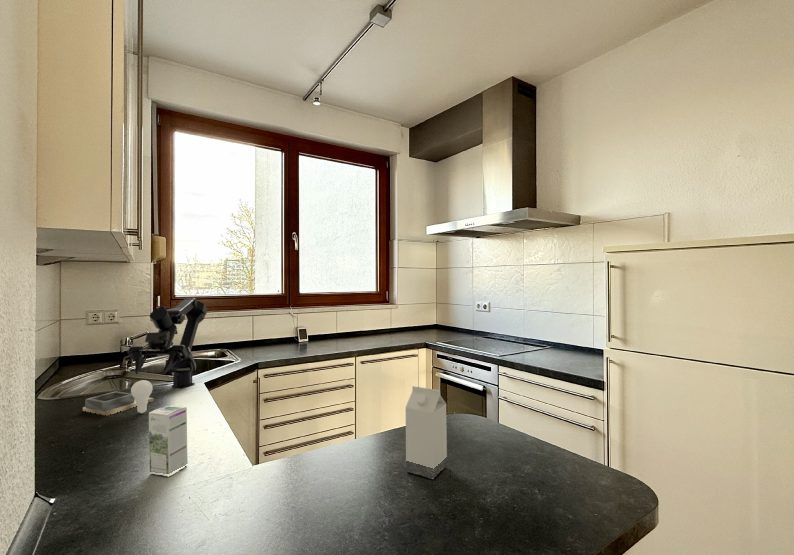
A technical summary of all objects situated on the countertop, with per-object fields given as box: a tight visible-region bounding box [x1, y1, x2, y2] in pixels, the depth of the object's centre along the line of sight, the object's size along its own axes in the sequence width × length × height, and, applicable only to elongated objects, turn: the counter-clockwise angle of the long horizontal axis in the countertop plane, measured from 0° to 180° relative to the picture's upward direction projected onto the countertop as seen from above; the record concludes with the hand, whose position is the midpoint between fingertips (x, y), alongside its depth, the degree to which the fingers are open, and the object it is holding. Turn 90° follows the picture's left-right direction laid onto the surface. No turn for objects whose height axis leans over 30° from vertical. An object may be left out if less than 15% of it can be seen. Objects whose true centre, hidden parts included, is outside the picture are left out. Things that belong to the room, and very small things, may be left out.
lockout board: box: [82, 390, 154, 417], centre depth 138 cm, size 16×13×4 cm
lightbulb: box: [130, 379, 153, 414], centre depth 130 cm, size 6×6×11 cm
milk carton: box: [405, 386, 448, 469], centre depth 90 cm, size 7×7×19 cm
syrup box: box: [148, 405, 189, 474], centre depth 91 cm, size 6×6×14 cm
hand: (150, 372), depth 136 cm, fingers open, 9 cm apart
